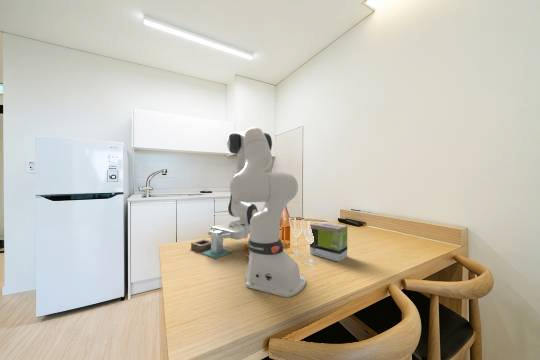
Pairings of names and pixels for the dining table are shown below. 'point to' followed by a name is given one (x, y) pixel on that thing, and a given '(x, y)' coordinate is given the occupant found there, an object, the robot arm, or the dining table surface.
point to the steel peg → (216, 242)
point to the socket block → (201, 245)
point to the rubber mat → (208, 253)
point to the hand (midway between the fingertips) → (215, 235)
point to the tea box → (329, 241)
